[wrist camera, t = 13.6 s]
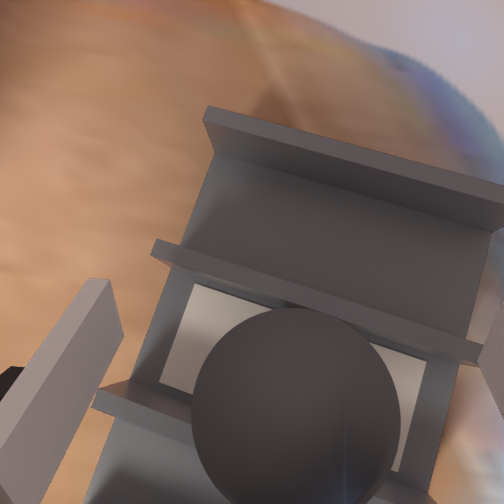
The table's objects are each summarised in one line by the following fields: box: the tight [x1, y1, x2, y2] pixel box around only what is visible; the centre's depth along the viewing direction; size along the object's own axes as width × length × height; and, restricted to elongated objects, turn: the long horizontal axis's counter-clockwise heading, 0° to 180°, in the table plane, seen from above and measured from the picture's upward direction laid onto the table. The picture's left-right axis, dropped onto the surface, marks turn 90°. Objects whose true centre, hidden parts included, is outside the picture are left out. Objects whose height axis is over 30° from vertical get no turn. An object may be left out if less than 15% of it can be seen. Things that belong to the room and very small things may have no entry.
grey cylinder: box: [191, 308, 401, 504], centre depth 14 cm, size 4×4×12 cm
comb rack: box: [83, 105, 504, 504], centre depth 19 cm, size 15×22×5 cm
